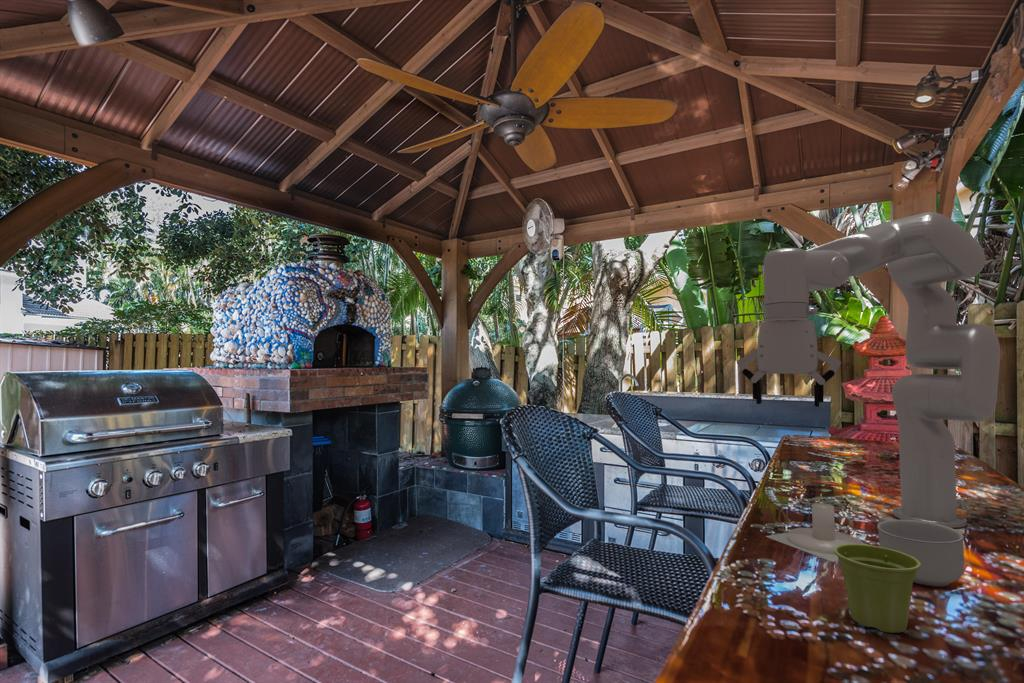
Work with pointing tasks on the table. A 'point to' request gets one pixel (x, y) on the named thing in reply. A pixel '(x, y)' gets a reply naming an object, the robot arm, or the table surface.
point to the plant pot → (878, 585)
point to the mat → (784, 539)
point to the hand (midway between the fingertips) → (787, 404)
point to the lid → (821, 532)
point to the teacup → (926, 548)
